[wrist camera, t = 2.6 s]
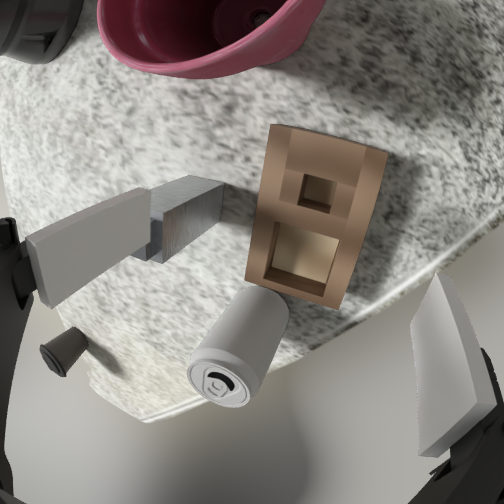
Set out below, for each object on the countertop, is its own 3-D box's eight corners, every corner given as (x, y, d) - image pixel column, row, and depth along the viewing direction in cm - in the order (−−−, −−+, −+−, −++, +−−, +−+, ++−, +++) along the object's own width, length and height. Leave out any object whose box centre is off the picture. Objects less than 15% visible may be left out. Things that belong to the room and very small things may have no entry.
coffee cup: (74, 343, 55) (45, 369, 47) (63, 316, 52) (31, 341, 43) (97, 357, 53) (68, 386, 45) (86, 329, 50) (53, 358, 41)
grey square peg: (188, 175, 29) (110, 206, 19) (224, 182, 28) (152, 218, 18) (186, 211, 31) (112, 254, 21) (219, 221, 30) (152, 271, 20)
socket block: (281, 124, 24) (270, 124, 21) (384, 150, 22) (388, 153, 19) (256, 264, 30) (244, 280, 27) (341, 290, 28) (338, 310, 25)
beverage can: (302, 304, 30) (268, 391, 20) (273, 339, 34) (234, 419, 23) (251, 271, 31) (195, 345, 21) (227, 310, 34) (174, 381, 24)
